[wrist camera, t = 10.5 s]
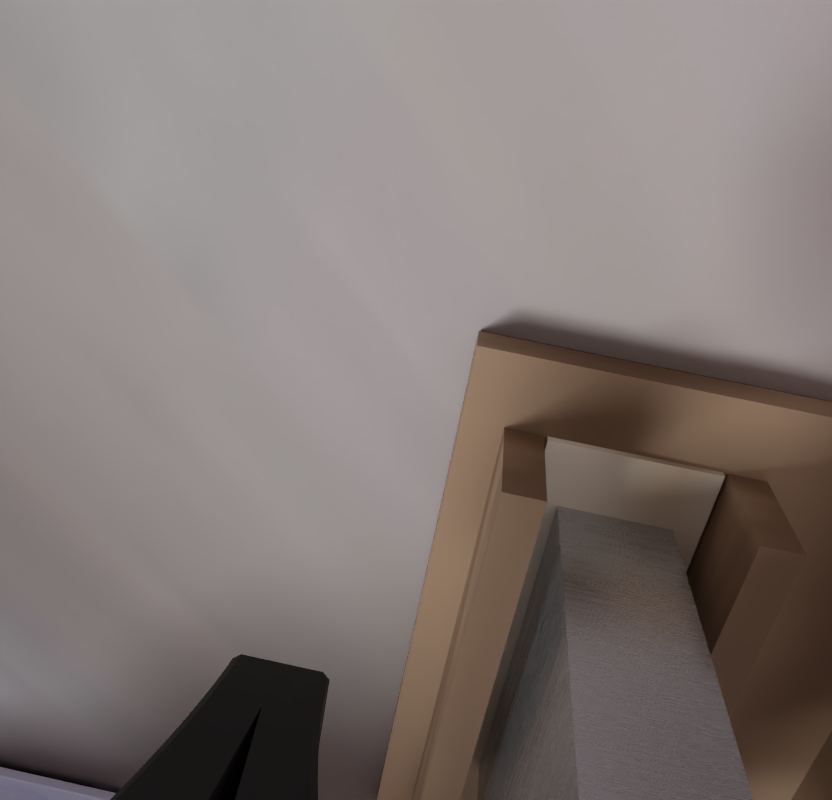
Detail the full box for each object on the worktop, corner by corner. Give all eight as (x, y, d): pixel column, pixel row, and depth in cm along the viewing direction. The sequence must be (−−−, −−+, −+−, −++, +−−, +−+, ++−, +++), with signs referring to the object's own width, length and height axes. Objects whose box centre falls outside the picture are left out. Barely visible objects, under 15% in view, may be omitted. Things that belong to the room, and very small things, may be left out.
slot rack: (376, 799, 28) (355, 914, 24) (478, 331, 20) (469, 400, 16) (944, 926, 27) (1009, 1065, 23) (1293, 495, 19) (1474, 605, 15)
